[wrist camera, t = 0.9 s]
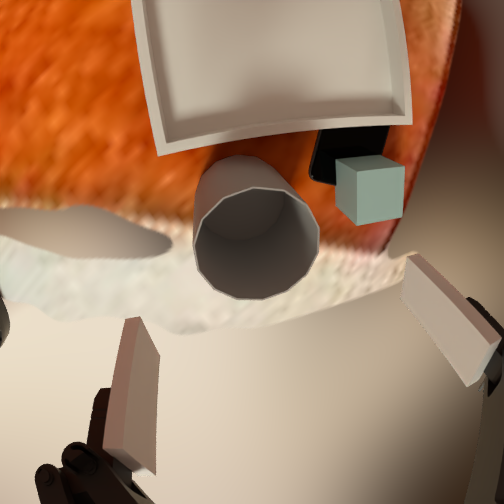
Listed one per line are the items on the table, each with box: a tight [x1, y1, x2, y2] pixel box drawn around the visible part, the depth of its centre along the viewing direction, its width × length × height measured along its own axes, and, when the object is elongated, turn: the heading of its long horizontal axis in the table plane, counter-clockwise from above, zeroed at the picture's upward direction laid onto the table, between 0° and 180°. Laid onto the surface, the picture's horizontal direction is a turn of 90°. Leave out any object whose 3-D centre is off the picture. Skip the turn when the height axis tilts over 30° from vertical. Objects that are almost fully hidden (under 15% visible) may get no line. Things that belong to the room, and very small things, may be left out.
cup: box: [193, 155, 319, 300], centre depth 24 cm, size 8×8×10 cm
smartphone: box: [309, 125, 390, 186], centre depth 26 cm, size 7×1×15 cm
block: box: [335, 155, 405, 226], centre depth 27 cm, size 5×5×5 cm
